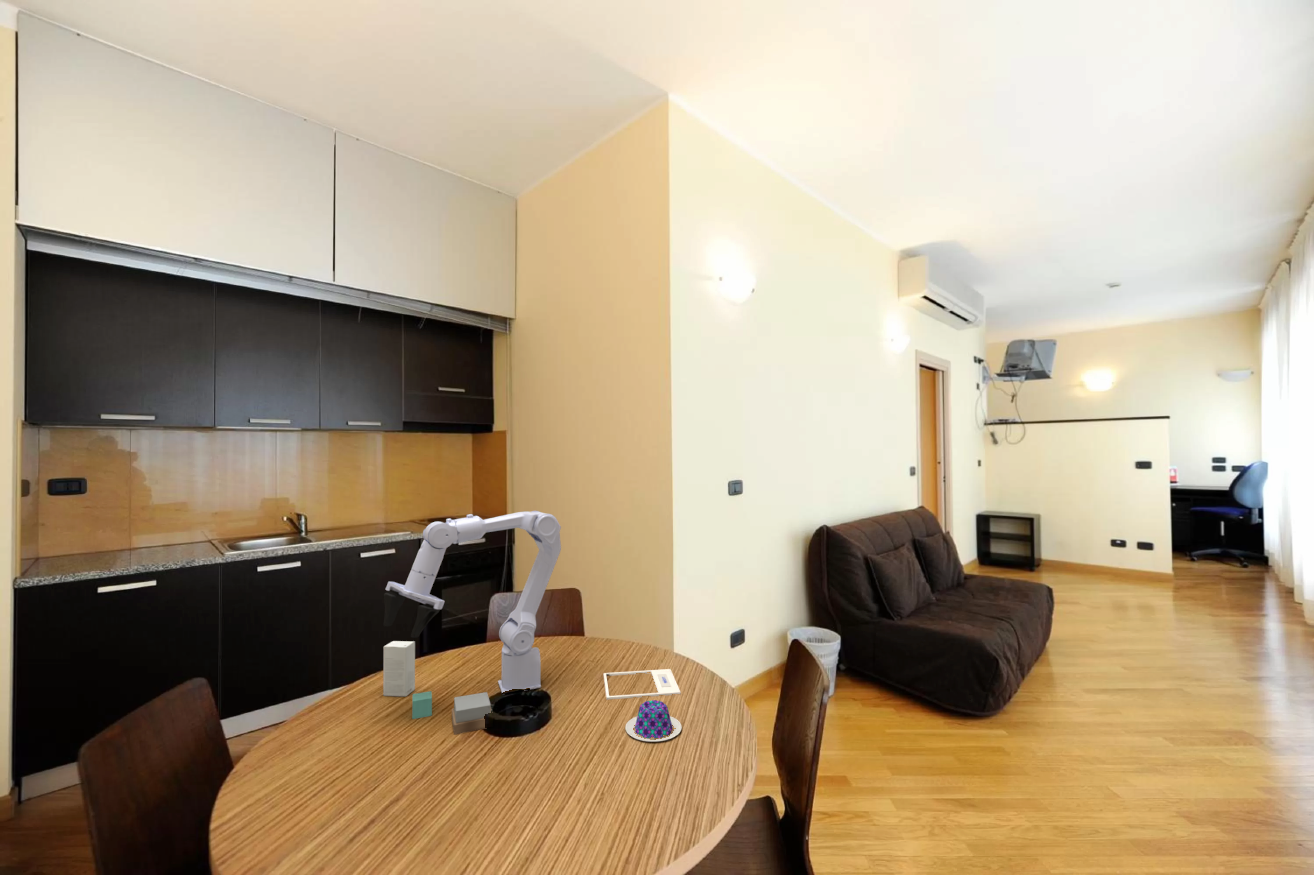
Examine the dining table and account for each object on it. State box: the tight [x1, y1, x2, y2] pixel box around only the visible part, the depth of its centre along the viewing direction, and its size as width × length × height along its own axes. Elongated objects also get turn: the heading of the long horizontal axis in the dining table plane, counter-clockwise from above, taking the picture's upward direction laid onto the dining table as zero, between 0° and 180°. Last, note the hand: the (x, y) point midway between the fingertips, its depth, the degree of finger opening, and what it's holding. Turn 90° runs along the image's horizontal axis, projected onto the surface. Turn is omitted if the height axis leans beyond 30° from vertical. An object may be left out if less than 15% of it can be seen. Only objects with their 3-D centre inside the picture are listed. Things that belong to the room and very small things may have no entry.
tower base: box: [451, 708, 486, 735], centre depth 120 cm, size 8×8×2 cm
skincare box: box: [382, 640, 416, 697], centre depth 135 cm, size 6×4×12 cm
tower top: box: [453, 691, 492, 723], centre depth 120 cm, size 7×7×2 cm
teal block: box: [411, 690, 433, 720], centre depth 124 cm, size 4×4×4 cm
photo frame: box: [603, 668, 681, 701], centre depth 139 cm, size 15×1×18 cm
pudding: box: [625, 699, 683, 742], centre depth 117 cm, size 12×12×5 cm
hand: (400, 631), depth 124 cm, fingers open, 7 cm apart
